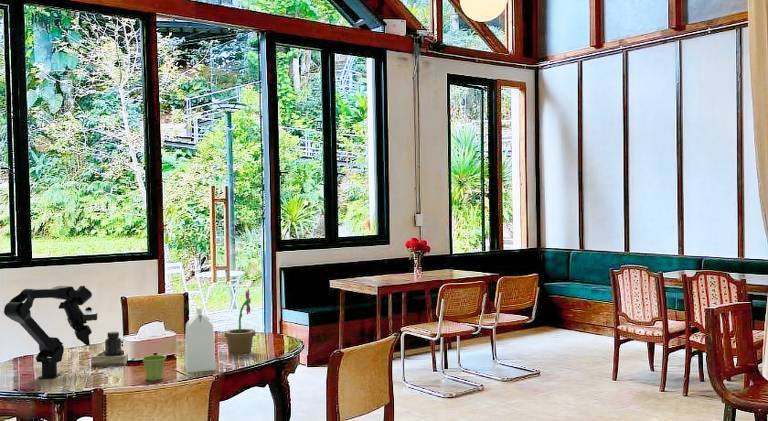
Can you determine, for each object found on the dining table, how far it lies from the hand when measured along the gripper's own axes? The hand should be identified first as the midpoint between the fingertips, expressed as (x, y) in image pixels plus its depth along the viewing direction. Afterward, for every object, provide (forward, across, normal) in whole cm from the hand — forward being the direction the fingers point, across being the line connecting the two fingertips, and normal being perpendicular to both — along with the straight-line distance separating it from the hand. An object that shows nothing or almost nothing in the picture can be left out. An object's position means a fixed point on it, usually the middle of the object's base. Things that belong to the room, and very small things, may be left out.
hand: (86, 341), depth 317 cm
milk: (+15, -37, -35) cm, 53 cm away
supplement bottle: (+13, -2, -7) cm, 15 cm away
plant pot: (+5, -44, -15) cm, 47 cm away
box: (+14, -2, -7) cm, 16 cm away
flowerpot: (+30, -20, -58) cm, 68 cm away
